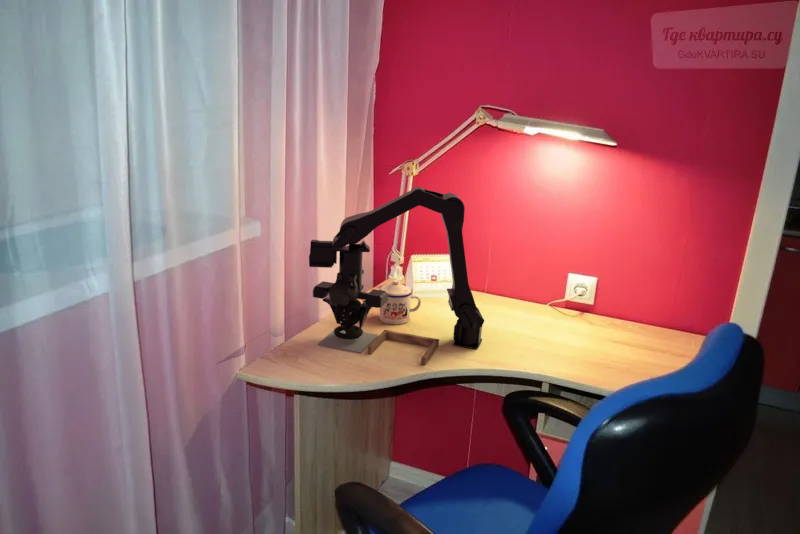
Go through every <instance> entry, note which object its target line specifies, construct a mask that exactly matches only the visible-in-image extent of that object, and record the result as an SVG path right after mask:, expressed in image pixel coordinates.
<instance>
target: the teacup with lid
mask: <svg viewBox="0 0 800 534" xmlns="http://www.w3.org/2000/svg"><path fill="white" fill-rule="evenodd" d="M379 290H382V291H386V292H387V294H388V301H387V302H386V303H385V304H384V305H383V306H382V307H381V308H379V316H378V317H379V320H380V321H381V322H383V323H385V324H387V325H394V326H395V325H403V324H406V323H408V322H409V320H410V315H411V313H414V312H417V311H418V310H419V309H420V307H421V304H422V300H421V297H419V295H416V294H412V293H413V292H412V289H411V287H410V286H409V287H408V286H407V285H403V283H401V282H400V280H399V279H394V280H392V282H391V283H389V284H385V285H383V286H381V288H380V289H379ZM411 299H417V301H418V303H417V305H416V306H415V307H414V308H411Z"/></svg>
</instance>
